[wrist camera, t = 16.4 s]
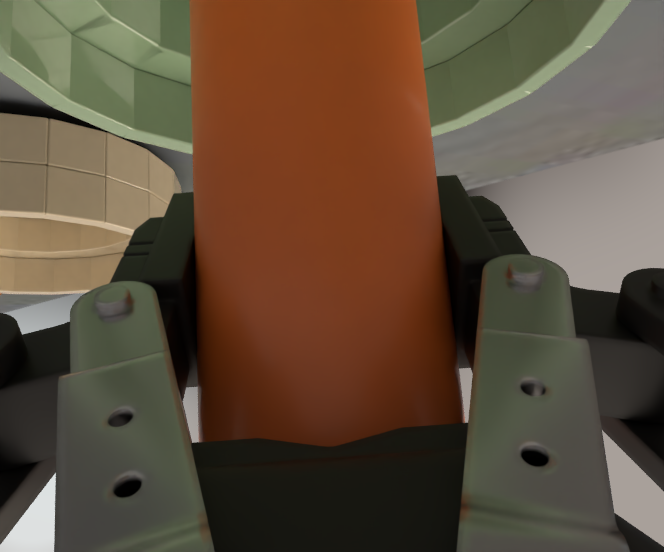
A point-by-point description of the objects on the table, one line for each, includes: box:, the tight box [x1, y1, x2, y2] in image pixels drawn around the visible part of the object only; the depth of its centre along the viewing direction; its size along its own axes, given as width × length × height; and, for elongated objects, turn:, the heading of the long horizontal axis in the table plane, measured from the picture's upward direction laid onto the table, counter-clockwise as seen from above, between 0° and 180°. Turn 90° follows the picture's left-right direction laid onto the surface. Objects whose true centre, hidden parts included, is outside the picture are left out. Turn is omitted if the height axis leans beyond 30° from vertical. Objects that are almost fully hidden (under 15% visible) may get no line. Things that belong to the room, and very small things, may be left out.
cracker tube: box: [189, 0, 465, 447], centre depth 11 cm, size 5×5×10 cm
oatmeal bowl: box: [0, 113, 181, 294], centre depth 27 cm, size 13×13×4 cm
